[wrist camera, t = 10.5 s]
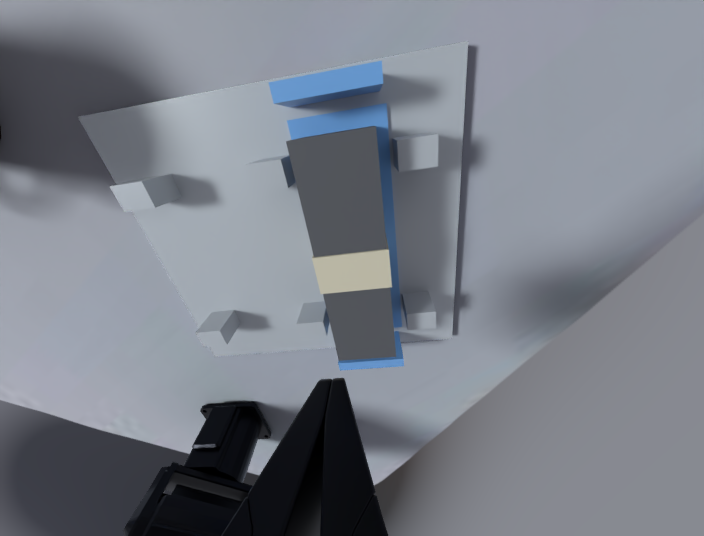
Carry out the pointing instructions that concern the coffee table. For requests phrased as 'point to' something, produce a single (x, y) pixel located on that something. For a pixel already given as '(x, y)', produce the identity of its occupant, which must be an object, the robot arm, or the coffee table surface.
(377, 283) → the gray banded bar
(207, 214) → the block model on plate
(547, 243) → the coffee table surface
